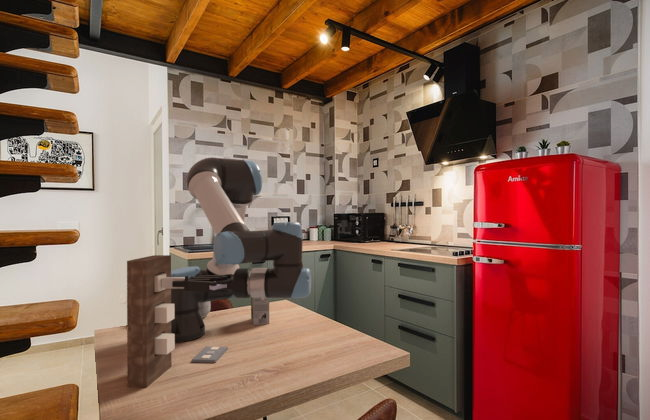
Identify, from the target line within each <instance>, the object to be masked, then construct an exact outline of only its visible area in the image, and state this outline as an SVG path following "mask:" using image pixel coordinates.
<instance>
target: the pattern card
mask: <svg viewBox="0 0 650 420" xmlns="http://www.w3.org/2000/svg"><path fill="white" fill-rule="evenodd" d="M227 351H228V346H208V345H207V346H205V347H204V348H203V349H202V350H200V352H198V353H197V354H196V355H195V356H194V357H193V358H192V359H191V362H192V363H217V362H218V361H219V360H220V358H221V357H222V356H223V355H224V354H225V353H226V352H227Z"/></svg>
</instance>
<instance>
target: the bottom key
mask: <svg viewBox="0 0 650 420" xmlns="http://www.w3.org/2000/svg"><path fill="white" fill-rule="evenodd" d="M175 343H176V342H175V334H168V333H161V334H159V335H158V336H156V337H155V354H168V353H170V352H171V353H172V351H174V350H175V349H176V348H175V347H176V344H175Z"/></svg>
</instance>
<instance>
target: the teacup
mask: <svg viewBox="0 0 650 420" xmlns="http://www.w3.org/2000/svg"><path fill="white" fill-rule="evenodd" d="M211 306H212V305H211V301H208V302H202V303H200V313H201V316H202V319H204V318H206V317H207V316H208V314H210V312H211V309H212V308H211Z"/></svg>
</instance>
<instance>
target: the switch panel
mask: <svg viewBox="0 0 650 420" xmlns="http://www.w3.org/2000/svg"><path fill="white" fill-rule="evenodd" d="M171 271H172V255H170V254H169V255H168V254H166V255H162V254H161V255H160V254H159V255H157V254H156V255H149V256H145V257H140V258H135V259H130V260H126V320H127V322H126V326H127V327H126V331H127V333H126V337H127V338H126V342H127V343H126V345H127V346H126V349H127V350H126V352H127V353H126V355H127V356H126V357H127V359H126V361H127V364H126V365H127V370H126V374H127V377H126V379H127V382H126V383H127V388H148V387H149V386H150V385H151V384H153V383H154V382H155V381H156V380H157V379H159V378H160V377H161V376H162V375H163V374H165V372H167V371H168V370H169V369H170V368H172V351H171V352H170V353H168V354H155V337H156V336H158V335H159V334H161V333H168V334H171V321H170V322H168V323H155V320H154V306H156V305H158V304H171V289H164V290H162V291H159V292H154V275H155V274H166V277H171Z"/></svg>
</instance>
